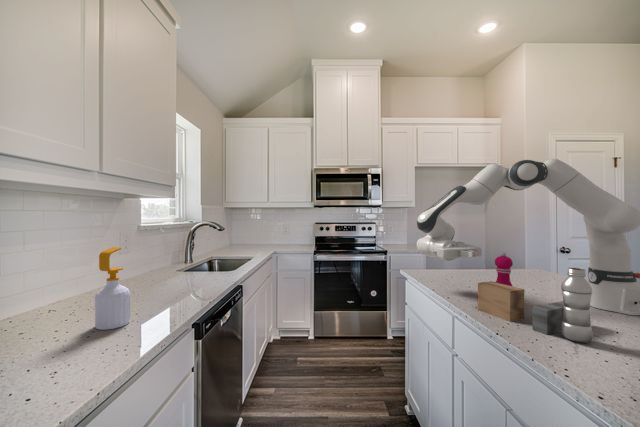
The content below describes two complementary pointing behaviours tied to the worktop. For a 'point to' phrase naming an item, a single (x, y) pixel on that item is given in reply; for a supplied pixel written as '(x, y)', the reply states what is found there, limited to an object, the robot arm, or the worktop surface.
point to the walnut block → (501, 300)
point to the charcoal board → (548, 317)
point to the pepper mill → (503, 269)
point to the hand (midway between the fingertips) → (474, 254)
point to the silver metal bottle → (576, 306)
